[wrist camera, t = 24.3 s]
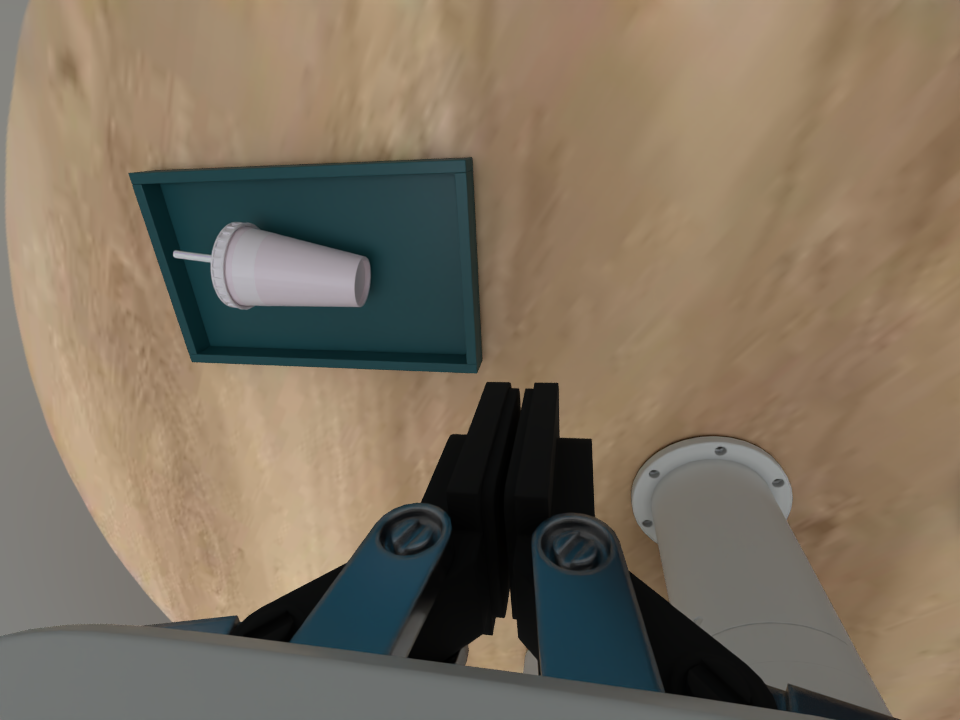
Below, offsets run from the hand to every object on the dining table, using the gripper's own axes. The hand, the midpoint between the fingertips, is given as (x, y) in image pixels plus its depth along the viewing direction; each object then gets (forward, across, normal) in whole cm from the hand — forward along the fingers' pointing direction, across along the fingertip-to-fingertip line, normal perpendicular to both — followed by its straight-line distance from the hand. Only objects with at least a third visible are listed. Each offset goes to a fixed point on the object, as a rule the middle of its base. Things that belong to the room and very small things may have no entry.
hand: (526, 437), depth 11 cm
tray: (+26, +19, +2) cm, 32 cm away
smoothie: (+23, +14, +2) cm, 27 cm away
